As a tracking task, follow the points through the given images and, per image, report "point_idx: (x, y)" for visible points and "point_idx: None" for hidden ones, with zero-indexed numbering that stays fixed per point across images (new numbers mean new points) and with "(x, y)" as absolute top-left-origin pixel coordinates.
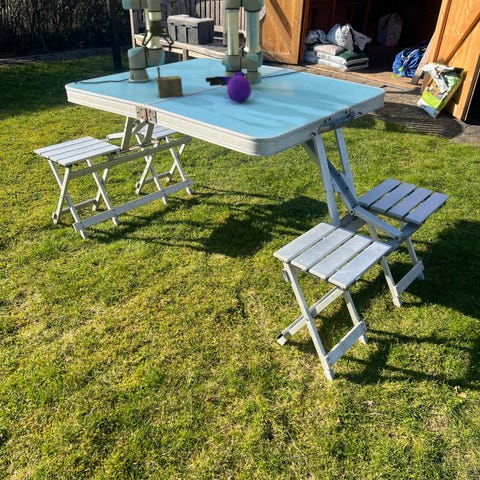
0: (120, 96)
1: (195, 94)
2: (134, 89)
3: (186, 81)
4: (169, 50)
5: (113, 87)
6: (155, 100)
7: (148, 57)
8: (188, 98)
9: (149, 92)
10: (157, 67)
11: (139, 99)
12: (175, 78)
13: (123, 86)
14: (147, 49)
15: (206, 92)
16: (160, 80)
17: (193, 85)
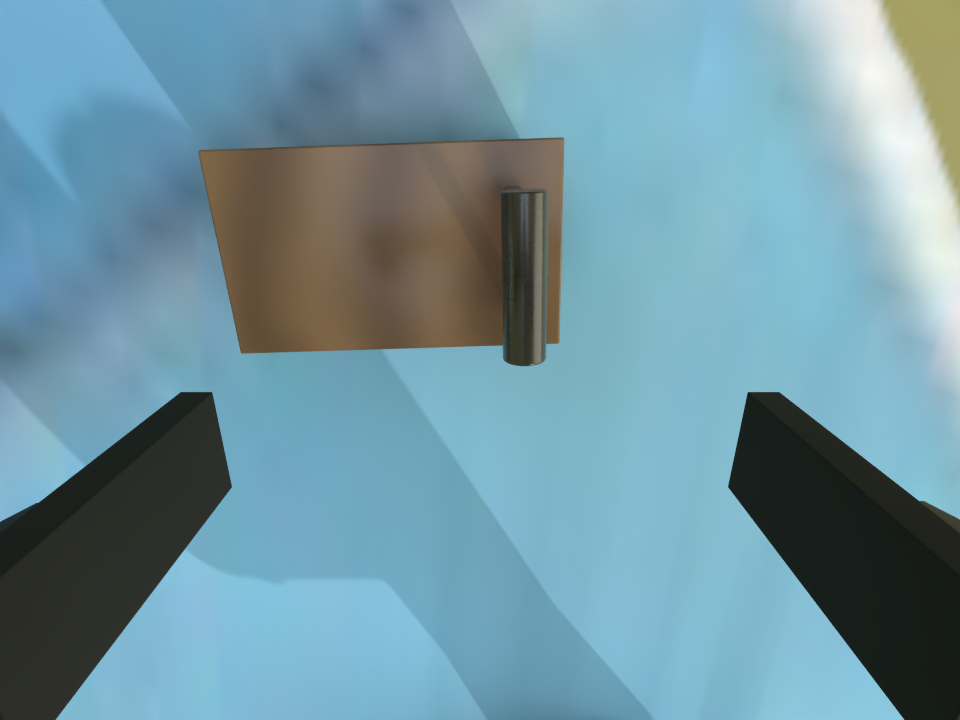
0: (865, 337)
1: (157, 194)
2: (690, 551)
3: (263, 686)
4: (92, 483)
5: (826, 652)
6: (582, 36)
7: (769, 395)
8: (222, 14)
9: (589, 413)
10: (542, 246)
11: (731, 146)
12: (283, 171)
13: (748, 661)
14: (934, 531)
15: (50, 251)
16: (507, 140)
17: (200, 553)
